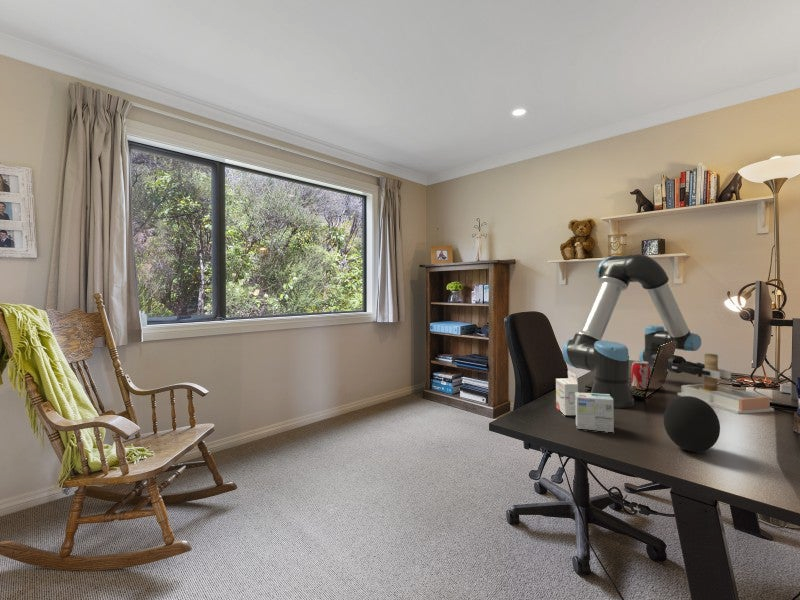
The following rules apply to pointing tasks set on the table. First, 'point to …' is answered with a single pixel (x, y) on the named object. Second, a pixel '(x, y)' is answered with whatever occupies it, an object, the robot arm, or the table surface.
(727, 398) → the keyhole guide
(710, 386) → the headed peg
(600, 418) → the light bulb box
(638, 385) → the soda can
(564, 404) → the ink cartridge box
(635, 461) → the table surface
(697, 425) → the decorative egg
